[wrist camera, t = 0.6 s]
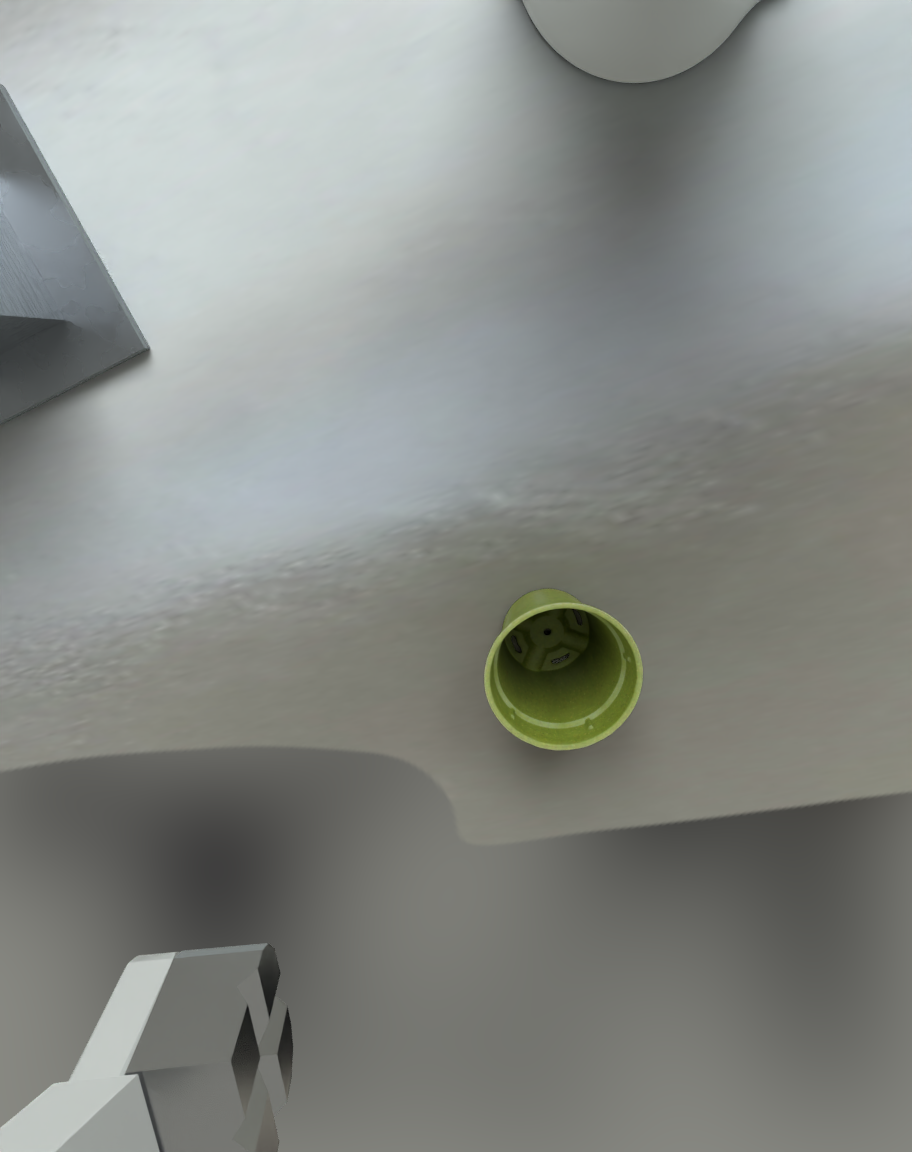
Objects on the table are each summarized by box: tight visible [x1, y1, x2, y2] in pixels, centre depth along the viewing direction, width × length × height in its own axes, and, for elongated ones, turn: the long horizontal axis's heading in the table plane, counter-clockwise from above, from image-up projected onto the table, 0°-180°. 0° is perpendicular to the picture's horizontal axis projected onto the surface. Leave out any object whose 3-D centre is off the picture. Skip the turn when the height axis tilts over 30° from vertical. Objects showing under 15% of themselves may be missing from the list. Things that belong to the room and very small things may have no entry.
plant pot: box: [484, 589, 643, 750], centre depth 52 cm, size 9×9×9 cm
